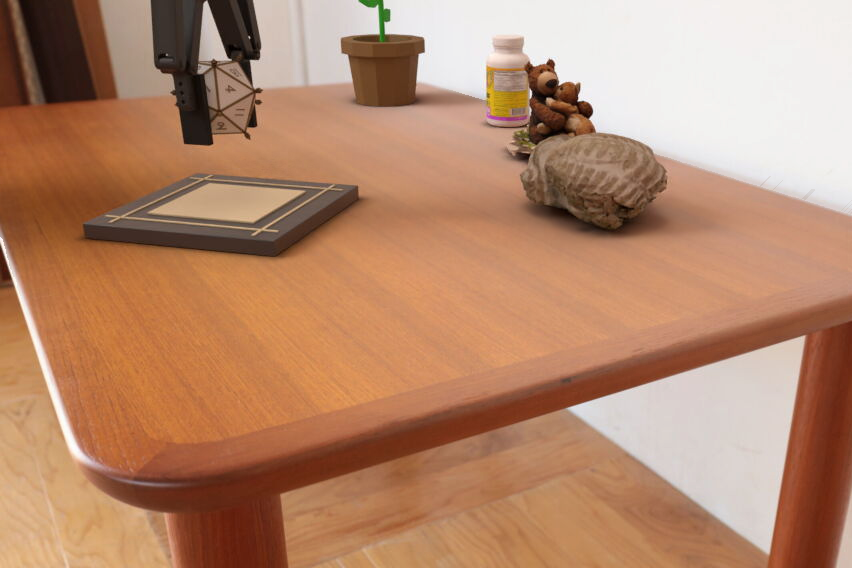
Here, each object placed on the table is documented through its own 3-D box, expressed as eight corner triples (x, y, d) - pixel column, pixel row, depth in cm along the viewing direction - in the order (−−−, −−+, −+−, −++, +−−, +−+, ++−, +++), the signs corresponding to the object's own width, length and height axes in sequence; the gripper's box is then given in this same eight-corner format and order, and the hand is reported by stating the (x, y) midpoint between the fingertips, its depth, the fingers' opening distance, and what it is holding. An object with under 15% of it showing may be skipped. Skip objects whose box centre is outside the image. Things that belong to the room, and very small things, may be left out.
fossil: (499, 178, 101) (533, 94, 98) (599, 214, 106) (633, 134, 103) (548, 225, 85) (590, 126, 82) (662, 264, 91) (705, 172, 88)
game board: (84, 238, 86) (81, 221, 85) (197, 185, 104) (195, 171, 103) (275, 256, 82) (273, 239, 81) (359, 198, 100) (358, 183, 99)
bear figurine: (532, 173, 110) (534, 71, 105) (495, 147, 123) (495, 55, 118) (632, 166, 114) (639, 67, 109) (586, 141, 127) (590, 52, 122)
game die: (235, 179, 89) (227, 106, 81) (159, 144, 90) (144, 68, 81) (281, 123, 94) (279, 49, 86) (209, 90, 95) (199, 13, 86)
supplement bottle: (493, 118, 142) (493, 33, 136) (534, 121, 140) (535, 34, 135) (480, 126, 136) (480, 37, 131) (522, 129, 134) (524, 39, 129)
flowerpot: (355, 92, 162) (344, -92, 149) (433, 94, 161) (429, -91, 148) (333, 107, 149) (318, -93, 136) (418, 109, 148) (411, -93, 135)
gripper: (158, -129, 70) (199, 161, 79) (281, -117, 88) (302, 117, 98) (75, -128, 71) (125, 156, 81) (213, -117, 90) (240, 113, 99)
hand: (222, 134), depth 89 cm, fingers closed on game die, 8 cm apart
